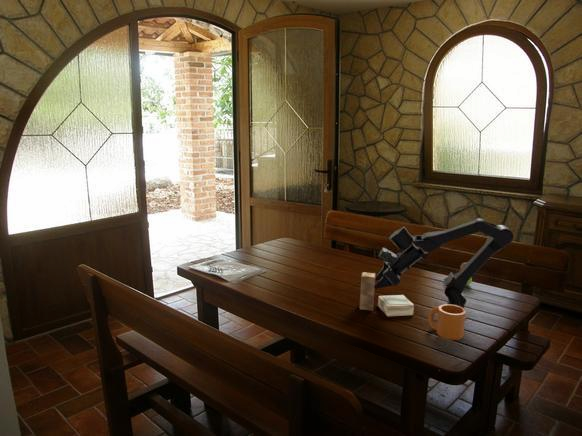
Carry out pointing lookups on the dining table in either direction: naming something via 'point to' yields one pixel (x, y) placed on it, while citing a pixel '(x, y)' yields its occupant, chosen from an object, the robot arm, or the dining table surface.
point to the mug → (448, 321)
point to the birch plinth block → (395, 305)
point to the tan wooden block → (367, 291)
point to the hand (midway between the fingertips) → (375, 283)
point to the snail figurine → (470, 278)
